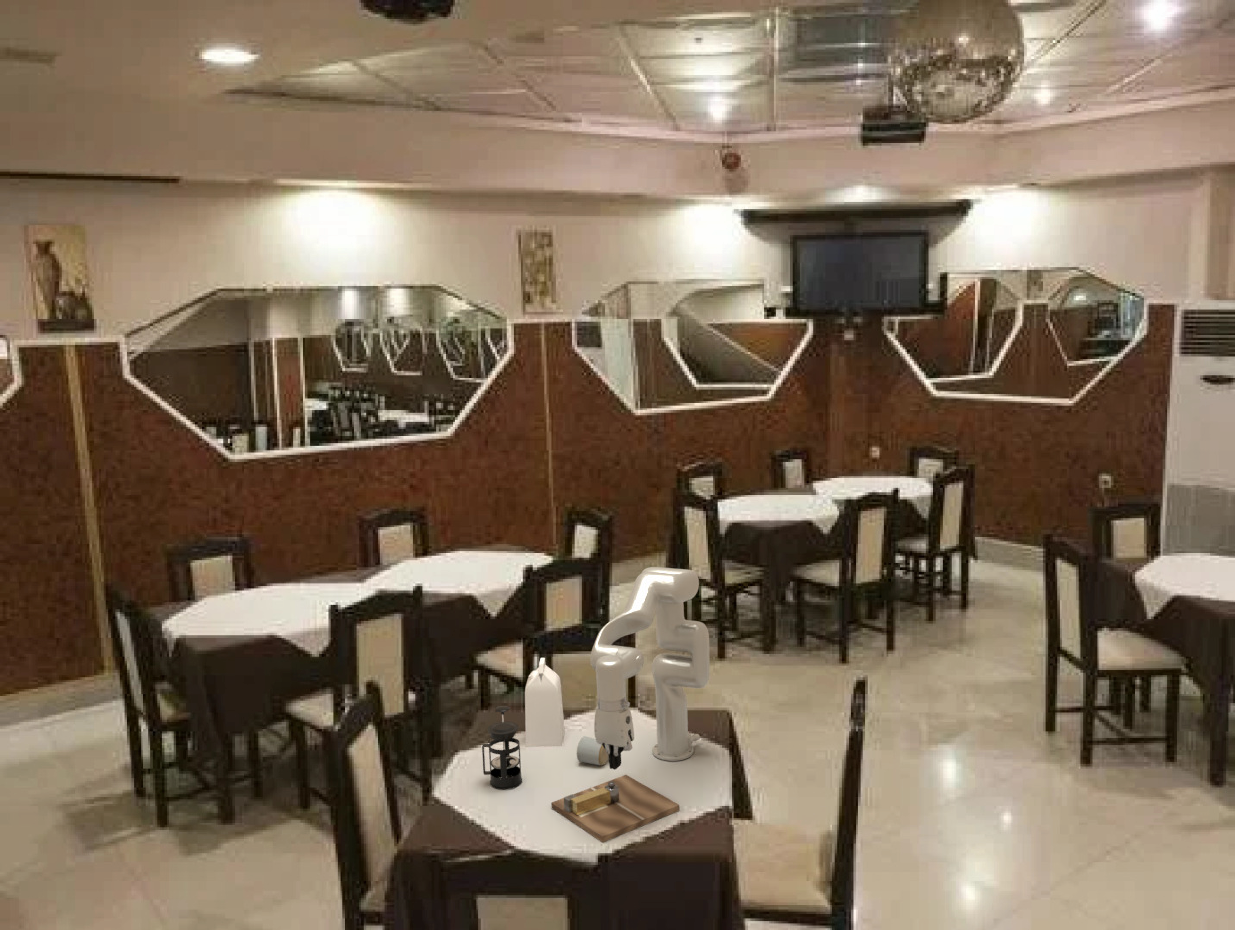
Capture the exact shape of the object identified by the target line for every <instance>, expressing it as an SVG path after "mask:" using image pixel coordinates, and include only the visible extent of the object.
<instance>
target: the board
mask: <svg viewBox="0 0 1235 930" xmlns="http://www.w3.org/2000/svg"><path fill="white" fill-rule="evenodd" d="M610 781H613V782H615V785H618V786H619V801H618V802H615V803H610V804H607V805H604V806H601V807H599V808H596V809H593V810H590V811H588V812H585V813H582V814H579V815H576V814H575V813H573V812H572V811H571V799H572V798H575V797H578V796H580V795H583V794H586V793H589V792H592V791H595V790H598V789H600V788H603V787H605V786H606V785H608V782H610ZM550 804H551V806H550V807H551V809H552V810H554V811H555V812H557V813H558V814H560V815H561V816H563V817H564V818H566V819H567V820H569V821H570V822H572V823H573V824H574V825H576V826H577V827H579V828H580V829H582V830H584V831H585V832H586V833H588V834H589V835H591V836H592V837H594V839H597V840H598V841H600V842H601V843H605V842H607V841H609V840H612V839H615V838H617V837H620V836H621V835H624V834H626V833H629V832H631V831H633V830H636V829H638V828H641V827H642V826H645V825H647V824H648V825H649V824H651V823H653V822H655V821H657V820H659V819H662V818H665V817H667V816H669V815H673V814H674V813H676V812H679V811H680V804H679V803H677V802H676V801H673V800H671V799H670V798H668V797H666V796H664V795H663V794H661V793H659V792H657V791H656V790H654V789H653V788H651V787H649V786H646V785H645V784H644V783H641V782H640V781H638V780H636V779H634V778H633V777H631V776H629V775H628V774H624V775H621V776H619V777H616V778H614V779H610V780H608V781H604V782H603V783H600V784H598V785H594V786H591V787H589V788H587V789H584V790H581V791H578V792H575V793H572V794H570V795H566V796H564V797H563V798H560V799H557V800H555V801H552V802H551V803H550Z"/></svg>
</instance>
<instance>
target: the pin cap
mask: <svg viewBox="0 0 1235 930" xmlns="http://www.w3.org/2000/svg"><path fill="white" fill-rule="evenodd" d="M609 781H610V780H609ZM607 782H608V781H607ZM608 787H609V788H613V787H615V782H613V781H610V782H608Z"/></svg>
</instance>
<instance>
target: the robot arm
mask: <svg viewBox="0 0 1235 930" xmlns="http://www.w3.org/2000/svg"><path fill="white" fill-rule="evenodd" d="M699 585H700V580H699V577H698V574H697V573H696V572H695V571H694V570H691V569H686V568H685V569H683V568H671V567H661V566H660V567H659V566H651V567H646V568H644V569H643V570H642V571H641V573H640V574H639V575H638V576H637V577H636V578H635V580H634V583H633V586H632V588H631V591H630V594H629V596H628V599H627V602H626V604H625V606H624V609H623V611H622V612H621V613H620V614H618V615H616V616H615V617H614V618H612V619H611V620H610V621H608V623H606V624H605V625H604V626H603V627H602V628H601V629H600V630H599V632H598V634H597V636H596V639H595V641H594V644H593V646H592V649H591V652H590V658H589V659H590V661H589V662H590V665H591V667H592V669H593V670H595V676H596V678H595V680H596V694H597V695H596V696H597V705H596V707H595V711H594V712H595V713H594V721H593V722H594V723H593V724H594V726H593V727H594V728H593V729H594V739H596V742H597V743H598V744H600V745H602V746H603V747H604V748H605V750H606V753H607V754H608V766H609V769H611V770H617V769H618V768H619V767H621V766H622V765H621V764H622V753H623V752H629V751H631V750H632V749H633V744H632V742H633V741H635V731H634V730H635V729H634V722H633V718H632V716H633V715H632V712H631V709H630V705H631V703H630V701H627V695H626V680H627V679H630V678H632V677H634V676H636V675H638V673H639V672H640V671H642V669H643V666H644V662H645V658H644V654H643V652H642V651H641V650H640V649H638V648H636V647H630V646H621V645H614V642H616V641H618V640H619V639H621V638H623V637H625V636H628V635H632V634H635V633H639V632H640V631H641V632H642V631H644V630H646V629H648V628H649V627H650V626H651V625H652V623H653V621H654V618H655V630H656V631H655V633H656V637H655V638H656V643H657V645H658V647H659V648H660V649H662V650H666V651H671V652H663V653H659V654H656V656H655V657H654V658H653V660H652V663H651V672H652V678H653V683H654V691H655V711H656V713H655V715H656V717H655V718H656V744H655V745H654V746H653V747H652V754H653V757H655V758H657V759H659V760H662V761H668V762H676V761H684V760H686V759H689V758H690V757H692V756H693V754H694V747H693V745H692V744H693V743H694V742H697V741H699V740H700V739H701V737H700V734H698V733H696V734H692V735H691V733H689V731H688V730H689V721H688V720H689V719H688V696H687V694H686V692H685V689H684V688H691V689H702V688H705V687H706V686H707V685H708V683H709V680H710V635H709V633H710V632H709V630H708V628H707V626H706V624H705V623H704V622H702V621H697V620H688V619H685V611H684V610H685V607H684V602H685V603H686V602H687V601H689V600H691V599H693V598H695V596H696V594H697V593H698V591H699V588H700V586H699ZM672 651H673V653H672ZM674 652H679V653H674ZM680 652H681V653H688V654H681V653H680Z"/></svg>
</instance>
